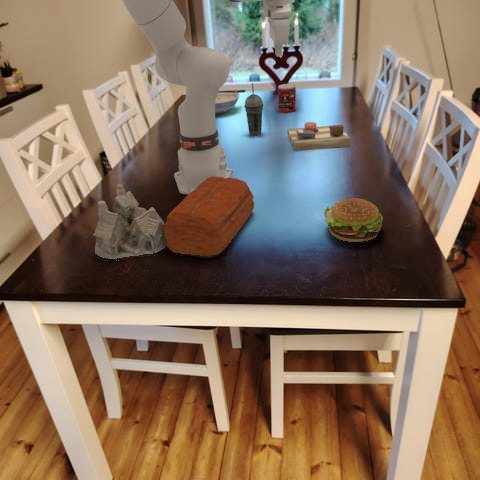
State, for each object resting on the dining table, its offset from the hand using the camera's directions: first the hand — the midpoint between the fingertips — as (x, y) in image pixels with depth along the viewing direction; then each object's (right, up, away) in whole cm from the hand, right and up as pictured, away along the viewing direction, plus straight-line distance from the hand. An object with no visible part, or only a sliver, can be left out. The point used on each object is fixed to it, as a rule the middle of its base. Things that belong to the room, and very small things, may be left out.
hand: (278, 55), depth 155 cm
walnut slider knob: (+22, -23, +12) cm, 34 cm away
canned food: (+9, -3, +56) cm, 56 cm away
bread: (-20, -59, -35) cm, 72 cm away
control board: (+16, -25, +17) cm, 34 cm away
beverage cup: (-7, -20, +29) cm, 36 cm away
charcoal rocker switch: (+11, -23, +12) cm, 28 cm away
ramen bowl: (-24, -2, +61) cm, 66 cm away
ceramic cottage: (-39, -63, -40) cm, 85 cm away
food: (+14, -60, -41) cm, 74 cm away
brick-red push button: (+13, -20, +19) cm, 31 cm away
